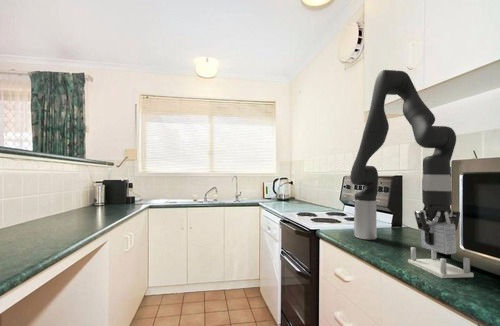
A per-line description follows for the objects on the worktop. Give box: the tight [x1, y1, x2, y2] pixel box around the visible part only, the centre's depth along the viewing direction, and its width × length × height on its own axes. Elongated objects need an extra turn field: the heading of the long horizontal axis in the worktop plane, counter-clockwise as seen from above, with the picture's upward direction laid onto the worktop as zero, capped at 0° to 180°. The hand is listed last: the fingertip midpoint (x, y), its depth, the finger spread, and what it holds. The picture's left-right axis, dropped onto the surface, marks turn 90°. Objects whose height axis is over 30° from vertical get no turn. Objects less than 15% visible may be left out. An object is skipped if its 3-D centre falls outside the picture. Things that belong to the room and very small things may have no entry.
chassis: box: [407, 246, 474, 279], centre depth 79 cm, size 13×10×5 cm
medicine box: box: [420, 221, 457, 255], centre depth 79 cm, size 8×4×9 cm, turn 16°
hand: (437, 244), depth 79 cm, fingers closed on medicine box, 5 cm apart
